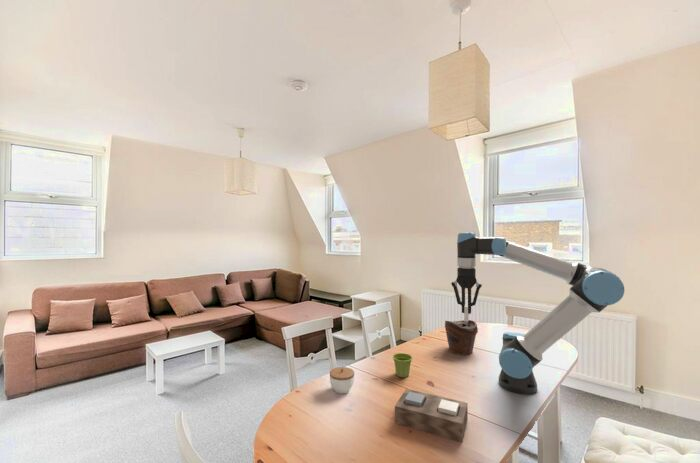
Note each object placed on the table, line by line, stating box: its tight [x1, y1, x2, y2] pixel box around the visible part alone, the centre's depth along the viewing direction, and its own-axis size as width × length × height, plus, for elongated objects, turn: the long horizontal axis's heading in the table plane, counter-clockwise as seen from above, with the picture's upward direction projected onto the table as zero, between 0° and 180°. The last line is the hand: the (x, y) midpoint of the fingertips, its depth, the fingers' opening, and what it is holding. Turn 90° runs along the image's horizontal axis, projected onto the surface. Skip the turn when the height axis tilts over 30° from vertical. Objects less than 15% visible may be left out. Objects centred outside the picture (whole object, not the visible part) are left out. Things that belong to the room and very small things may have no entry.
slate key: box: [405, 392, 425, 407], centre depth 114 cm, size 6×6×4 cm
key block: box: [394, 388, 469, 443], centre depth 112 cm, size 23×14×6 cm, turn 63°
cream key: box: [438, 399, 459, 416], centre depth 109 cm, size 6×6×4 cm
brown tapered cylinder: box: [444, 319, 479, 356], centre depth 180 cm, size 18×20×18 cm
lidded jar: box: [329, 366, 355, 395], centre depth 134 cm, size 11×11×9 cm
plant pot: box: [392, 352, 413, 379], centre depth 149 cm, size 9×9×9 cm
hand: (466, 320), depth 137 cm, fingers closed
